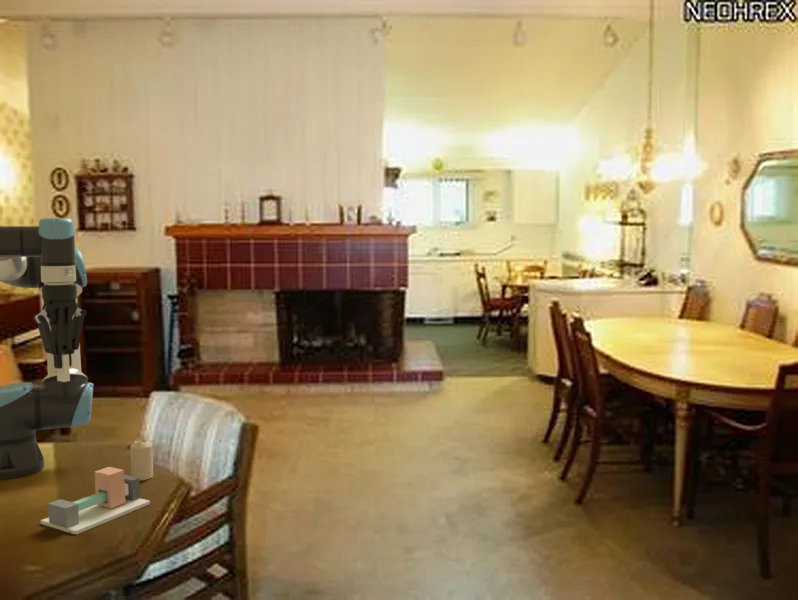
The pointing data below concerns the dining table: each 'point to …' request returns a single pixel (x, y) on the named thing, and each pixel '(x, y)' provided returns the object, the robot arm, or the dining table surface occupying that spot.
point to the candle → (141, 459)
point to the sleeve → (111, 486)
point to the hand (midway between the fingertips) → (63, 380)
